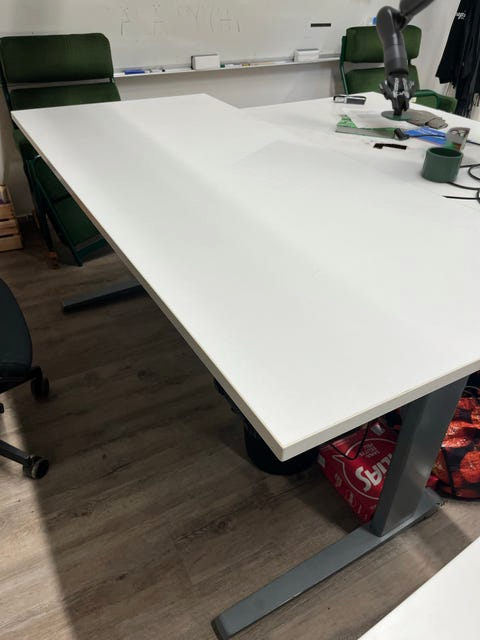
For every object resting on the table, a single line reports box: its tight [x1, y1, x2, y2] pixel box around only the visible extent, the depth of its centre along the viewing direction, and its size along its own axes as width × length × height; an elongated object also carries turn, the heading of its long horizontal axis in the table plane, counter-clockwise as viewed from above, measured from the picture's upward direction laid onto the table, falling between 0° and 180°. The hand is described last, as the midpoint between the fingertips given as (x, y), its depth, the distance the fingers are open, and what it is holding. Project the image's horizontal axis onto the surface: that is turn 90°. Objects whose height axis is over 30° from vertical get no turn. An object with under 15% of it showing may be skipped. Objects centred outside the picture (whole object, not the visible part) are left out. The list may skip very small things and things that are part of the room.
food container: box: [444, 126, 471, 152], centre depth 155 cm, size 12×6×10 cm, turn 149°
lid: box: [380, 94, 415, 122], centre depth 163 cm, size 11×11×7 cm
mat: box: [372, 142, 408, 151], centre depth 170 cm, size 11×11×1 cm
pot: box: [420, 146, 464, 184], centre depth 145 cm, size 10×10×7 cm
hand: (401, 110), depth 161 cm, fingers closed on lid, 3 cm apart
